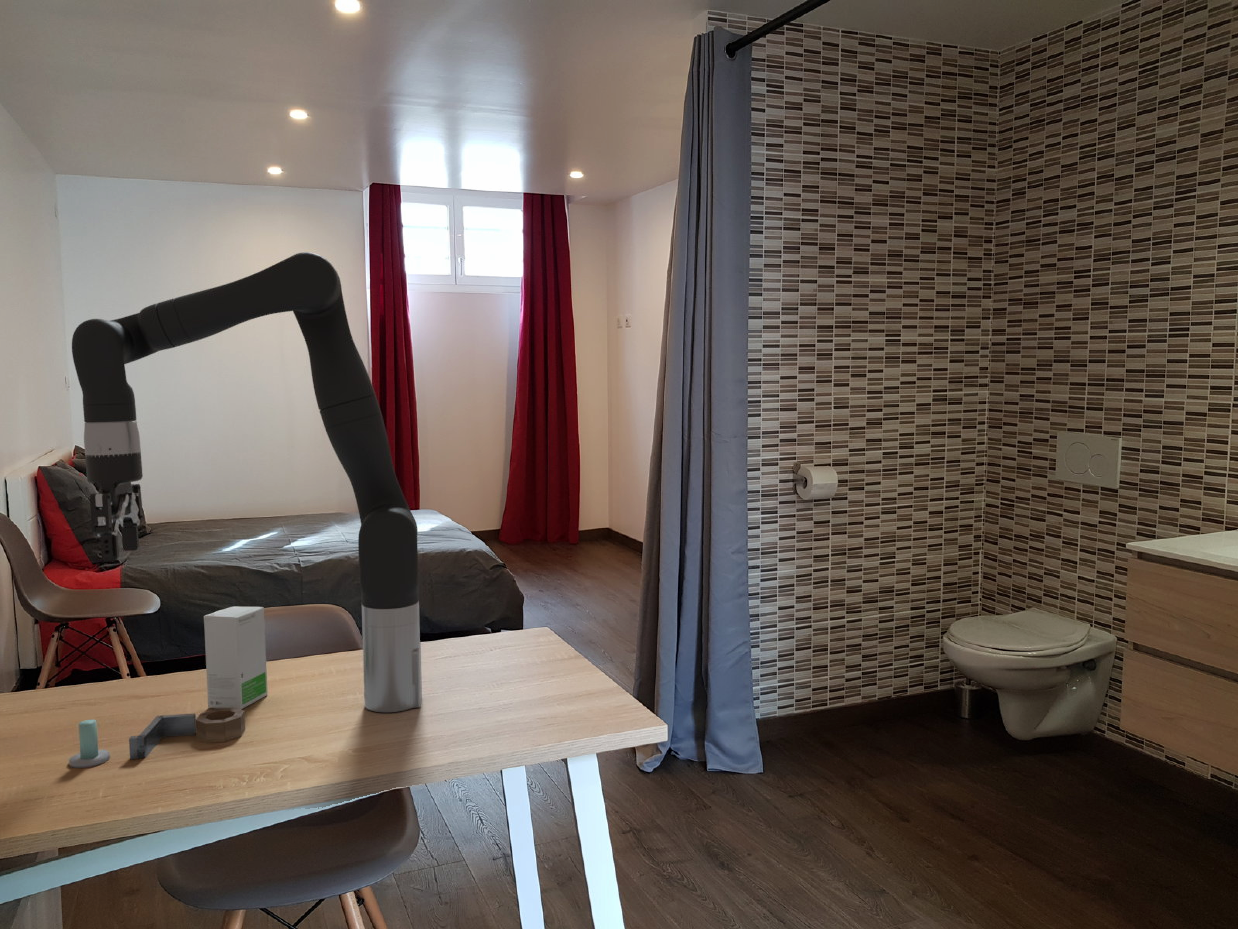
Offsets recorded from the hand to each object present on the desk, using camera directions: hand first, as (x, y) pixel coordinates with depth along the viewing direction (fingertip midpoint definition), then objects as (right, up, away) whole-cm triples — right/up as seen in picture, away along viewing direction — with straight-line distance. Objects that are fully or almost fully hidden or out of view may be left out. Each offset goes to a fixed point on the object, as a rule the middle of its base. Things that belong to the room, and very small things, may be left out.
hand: (121, 555), depth 141 cm
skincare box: (+13, -26, +13) cm, 32 cm away
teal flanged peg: (+2, -28, -12) cm, 31 cm away
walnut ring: (+16, -27, -2) cm, 32 cm away
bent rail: (+10, -28, -6) cm, 30 cm away
